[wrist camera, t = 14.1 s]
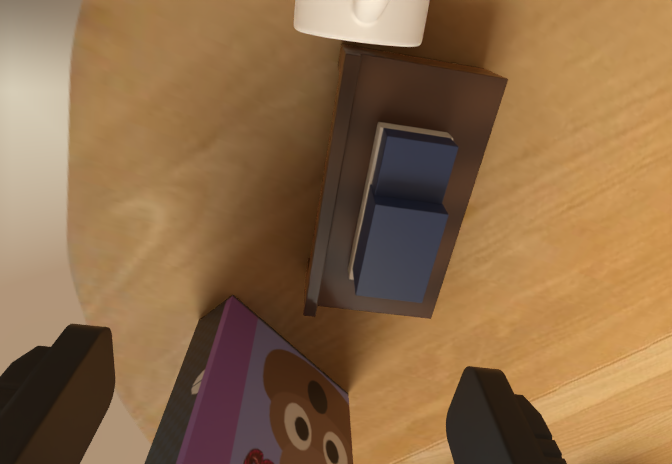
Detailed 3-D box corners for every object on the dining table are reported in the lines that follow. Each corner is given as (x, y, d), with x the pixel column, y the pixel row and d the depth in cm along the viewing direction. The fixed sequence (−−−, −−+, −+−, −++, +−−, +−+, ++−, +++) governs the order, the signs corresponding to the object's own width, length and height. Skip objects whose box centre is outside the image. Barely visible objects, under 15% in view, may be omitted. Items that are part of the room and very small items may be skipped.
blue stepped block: (377, 121, 31) (387, 141, 26) (448, 132, 31) (469, 154, 27) (347, 269, 36) (351, 307, 32) (408, 276, 37) (420, 315, 32)
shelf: (341, 43, 33) (345, 53, 27) (484, 68, 34) (517, 82, 29) (305, 272, 42) (303, 315, 36) (419, 286, 43) (435, 330, 38)
